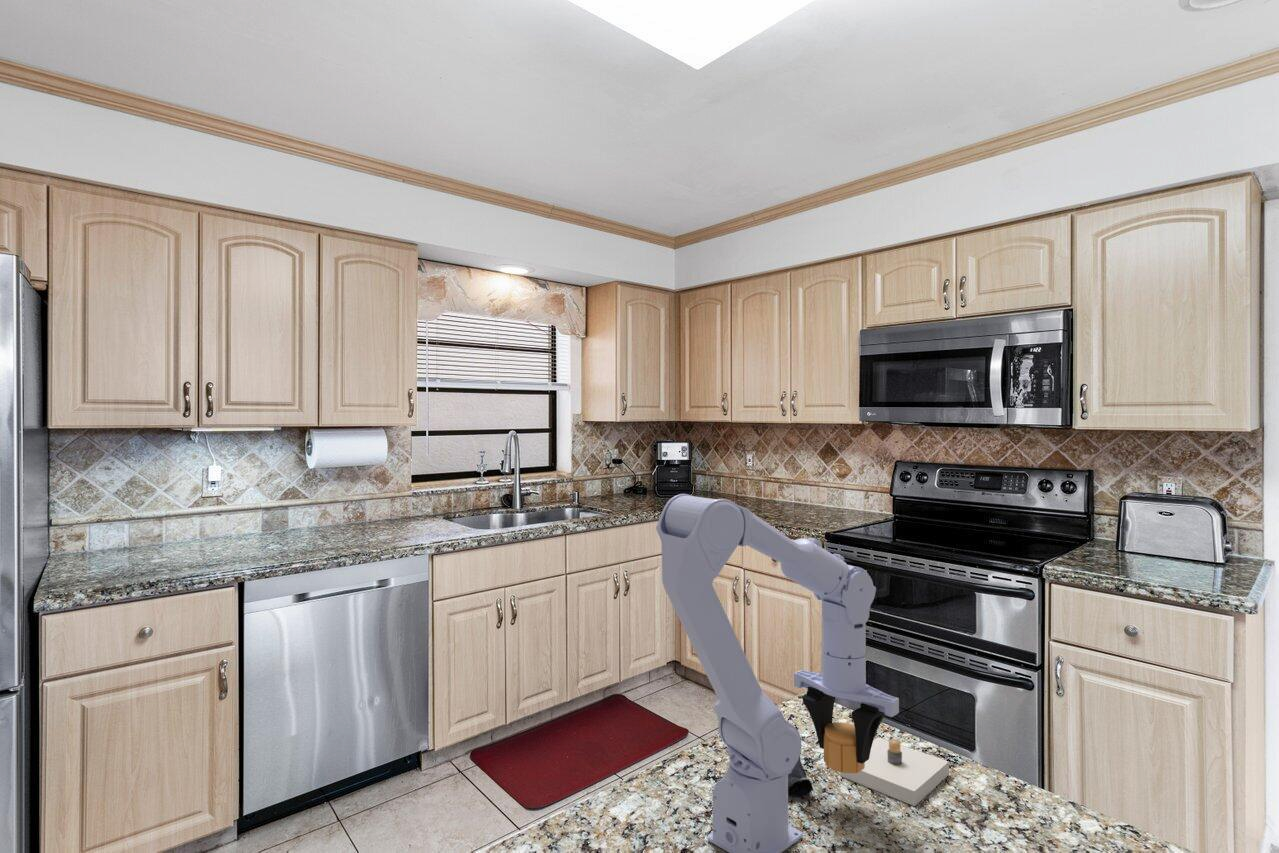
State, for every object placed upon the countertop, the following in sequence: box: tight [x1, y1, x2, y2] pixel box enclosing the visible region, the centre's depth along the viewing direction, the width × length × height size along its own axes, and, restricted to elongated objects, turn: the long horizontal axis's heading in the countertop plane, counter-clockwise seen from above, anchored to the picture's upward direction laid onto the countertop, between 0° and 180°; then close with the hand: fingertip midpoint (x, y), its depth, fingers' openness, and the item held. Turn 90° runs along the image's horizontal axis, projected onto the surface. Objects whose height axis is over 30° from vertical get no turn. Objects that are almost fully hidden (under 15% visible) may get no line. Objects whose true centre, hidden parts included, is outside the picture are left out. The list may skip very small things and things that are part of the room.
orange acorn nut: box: [823, 721, 865, 774], centre depth 88 cm, size 5×5×4 cm
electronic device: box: [788, 756, 814, 798], centre depth 97 cm, size 9×6×15 cm
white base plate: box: [839, 736, 950, 807], centre depth 96 cm, size 12×11×5 cm
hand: (843, 753), depth 88 cm, fingers closed on orange acorn nut, 5 cm apart
